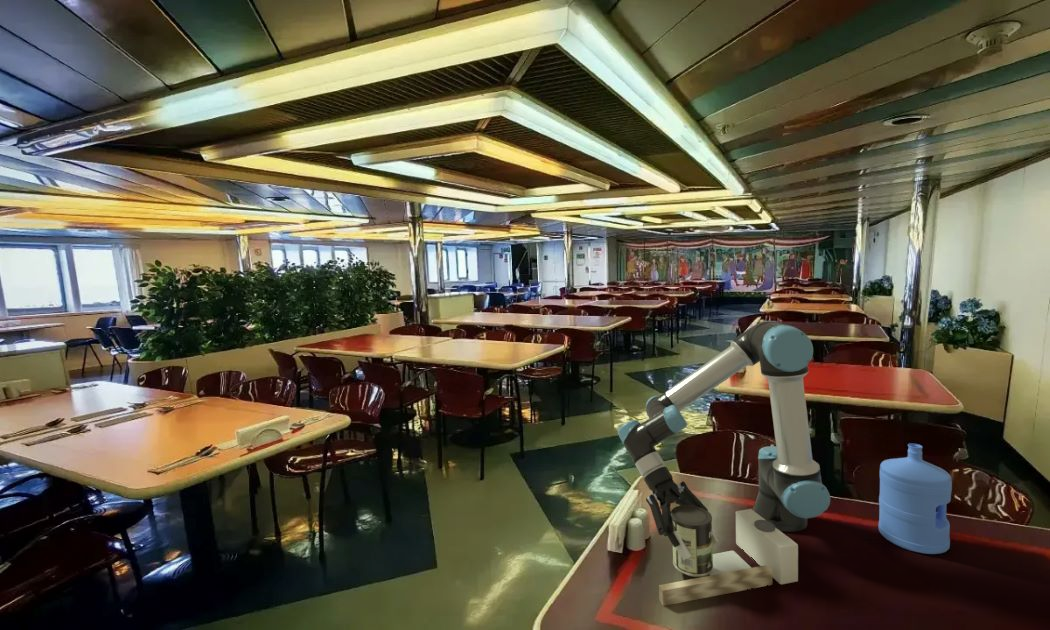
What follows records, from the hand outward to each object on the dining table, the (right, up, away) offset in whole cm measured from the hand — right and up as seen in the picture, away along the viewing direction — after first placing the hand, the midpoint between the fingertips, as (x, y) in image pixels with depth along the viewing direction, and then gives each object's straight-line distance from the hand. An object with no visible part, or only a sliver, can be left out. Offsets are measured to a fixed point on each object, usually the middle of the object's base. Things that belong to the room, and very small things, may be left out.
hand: (701, 550), depth 118 cm
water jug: (+66, -3, +13) cm, 67 cm away
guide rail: (+2, -8, -4) cm, 10 cm away
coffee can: (-1, -6, +3) cm, 6 cm away
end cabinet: (+13, -7, +5) cm, 15 cm away
